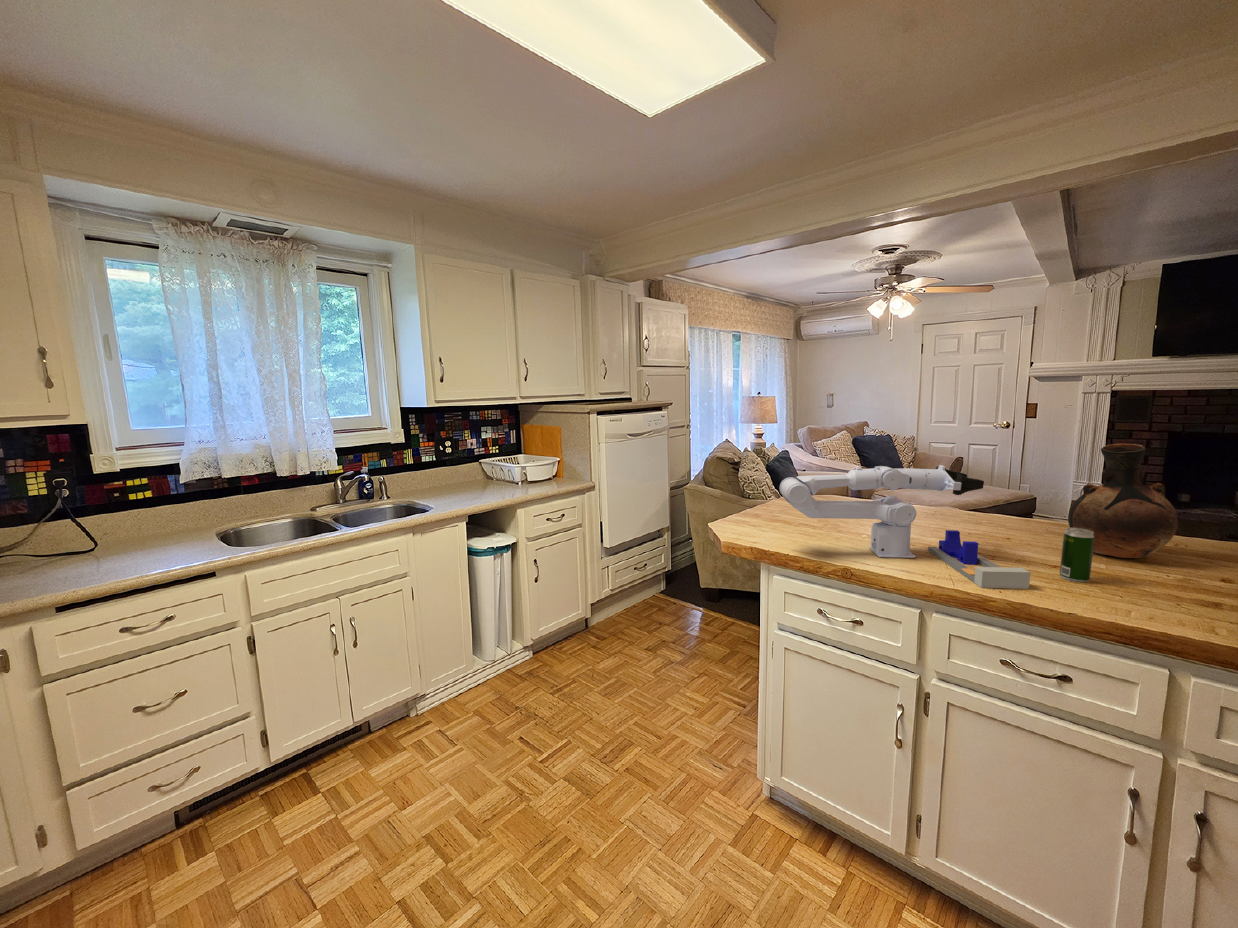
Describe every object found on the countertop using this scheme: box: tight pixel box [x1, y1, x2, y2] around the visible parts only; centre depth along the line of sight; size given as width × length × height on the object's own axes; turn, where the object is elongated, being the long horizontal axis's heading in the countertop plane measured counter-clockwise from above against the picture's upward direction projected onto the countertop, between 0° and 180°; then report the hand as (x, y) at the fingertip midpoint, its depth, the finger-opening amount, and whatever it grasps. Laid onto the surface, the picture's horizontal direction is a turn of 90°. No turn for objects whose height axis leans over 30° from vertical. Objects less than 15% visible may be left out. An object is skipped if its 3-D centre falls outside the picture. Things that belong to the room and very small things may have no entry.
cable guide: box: [927, 546, 1031, 590], centre depth 129 cm, size 10×27×4 cm, turn 172°
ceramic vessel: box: [1067, 443, 1179, 559], centre depth 133 cm, size 21×18×30 cm
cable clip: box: [938, 529, 979, 566], centre depth 137 cm, size 12×4×6 cm, turn 169°
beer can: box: [1059, 527, 1095, 583], centre depth 120 cm, size 5×5×12 cm
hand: (974, 481), depth 137 cm, fingers open, 7 cm apart
